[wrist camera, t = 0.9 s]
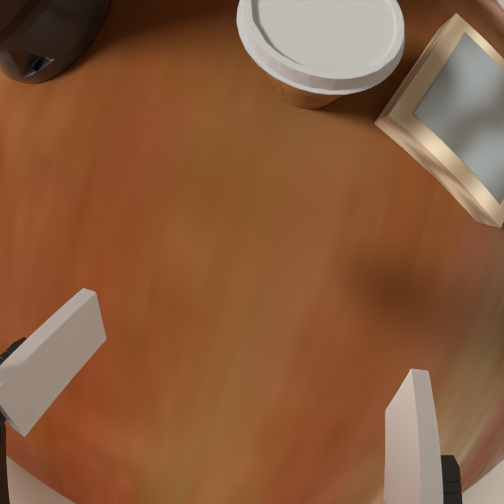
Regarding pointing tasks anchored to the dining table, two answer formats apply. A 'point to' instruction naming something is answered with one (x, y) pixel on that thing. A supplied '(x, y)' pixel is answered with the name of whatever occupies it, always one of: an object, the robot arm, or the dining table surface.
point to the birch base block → (455, 118)
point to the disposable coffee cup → (322, 45)
